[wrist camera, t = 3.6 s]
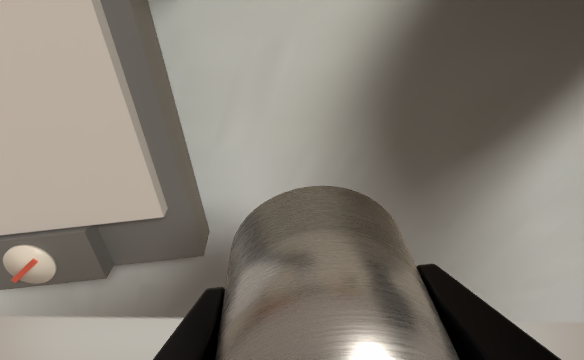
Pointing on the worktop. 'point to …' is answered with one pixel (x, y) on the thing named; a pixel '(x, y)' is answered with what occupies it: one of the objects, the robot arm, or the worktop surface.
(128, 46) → the kitchen scale
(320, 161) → the worktop surface
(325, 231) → the cylinder
